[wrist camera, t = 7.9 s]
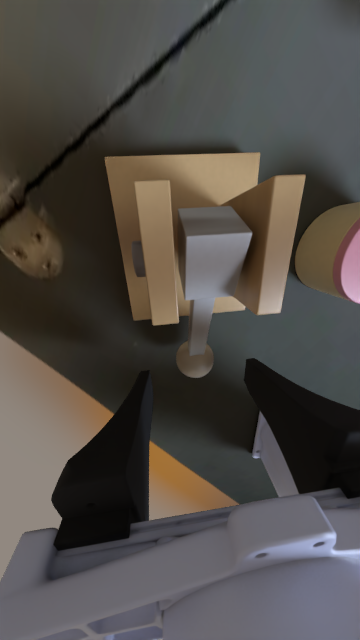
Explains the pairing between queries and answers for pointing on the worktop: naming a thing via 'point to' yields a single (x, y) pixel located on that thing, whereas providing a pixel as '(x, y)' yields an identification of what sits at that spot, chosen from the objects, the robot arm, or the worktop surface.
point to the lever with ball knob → (207, 274)
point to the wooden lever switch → (195, 192)
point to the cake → (332, 253)
